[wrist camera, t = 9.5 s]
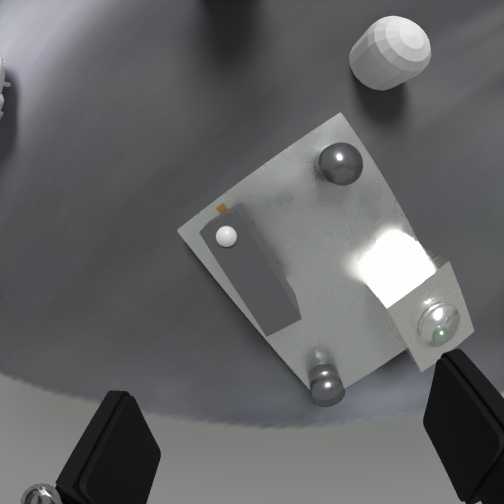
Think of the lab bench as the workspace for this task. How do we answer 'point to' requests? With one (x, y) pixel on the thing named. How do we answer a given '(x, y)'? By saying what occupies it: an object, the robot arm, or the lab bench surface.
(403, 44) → the capsule
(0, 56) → the mechanical part
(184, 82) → the lab bench surface
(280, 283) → the block
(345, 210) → the levelling base
